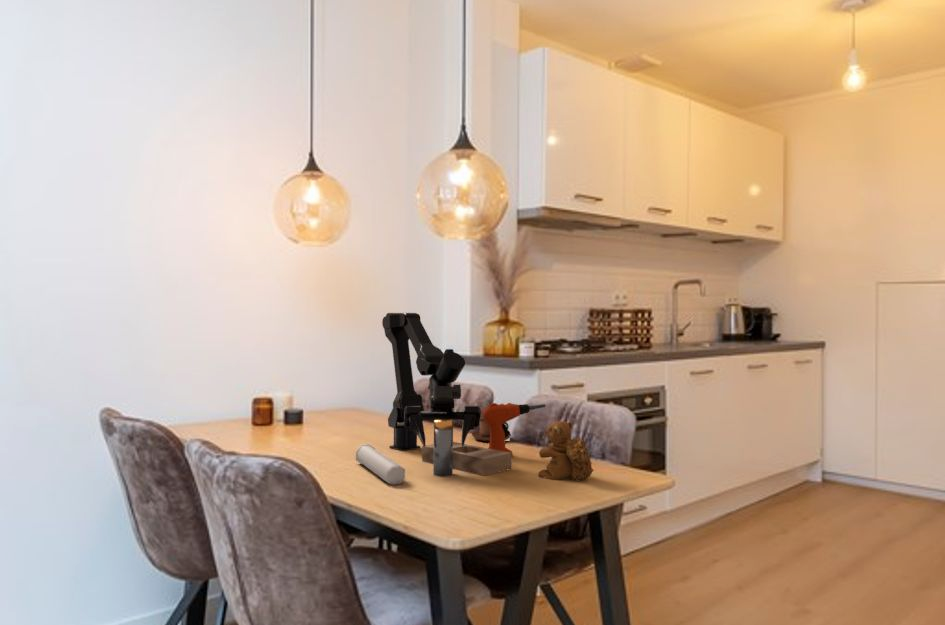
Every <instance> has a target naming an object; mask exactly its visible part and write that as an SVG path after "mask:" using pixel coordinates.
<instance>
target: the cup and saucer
mask: <svg viewBox="0 0 945 625" xmlns="http://www.w3.org/2000/svg"><path fill="white" fill-rule="evenodd" d="M503 424H505V425H506V427H507V429H508V430H509V426H510V425H509V423H508V421H507V422H505V423H503ZM471 437H473V439H475V440H478V441H482V442H487V441H488V442H489V443H490V427H489V425H488V424H487V423H486V422H485V421H484V419H483V418H480V422H479V431H474V432H472V433H471ZM511 437H512V434H511V433H510V434H509V435H508V436H507V437H506V438H505V441H506V440H508V439H510V438H511Z"/></svg>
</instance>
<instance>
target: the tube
mask: <svg viewBox="0 0 945 625" xmlns="http://www.w3.org/2000/svg"><path fill="white" fill-rule="evenodd" d="M355 461H356V462H358V463H359V464H361V465H363V466H365V467H366V468H367V469H369V470H370V471H371V472H373V473H374V474H375V475H377V476H378V477H380V479H382V480H383V481H385V482H387V483H388V484H389V485H391V486H394V485H401V484H402V483H403V481H404V479H405V477H406V469H405V468H404V466H402V465H400V464H399V463H397V462H396V461H394V460H392V459H391V458H389V457H388V456H386V455H385V454H383V453H382V452H380V451H378V450H377V449H376V448H375V447H374V446H372V445H371V444H369V443H367V444H360V446H359V447H358V448H357V449H356V451H355Z"/></svg>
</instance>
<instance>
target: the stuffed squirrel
mask: <svg viewBox="0 0 945 625" xmlns="http://www.w3.org/2000/svg"><path fill="white" fill-rule="evenodd" d="M573 425H574V423H573V422H572V421H568V422H566V421H563V420H557V421H555V422H551V424H549V425H548V426H547V427H546V430H545V431H544V433H543V436H542V438H543V440H546V437H547V439H548V440H549V441H551V442H550V443H548V444H547V447H542V448H541V449H540V450H539V452H538V453H539V457H540V458H542V459H546V458H551V459H550V461H549V463H548V464H547V465H546V466H545V468H546V469H545V468H544V469H541V470H539V471H538V474H537V475H538V477H539V476H541V477H540V478H543V477H546V478H545V479H548V478H550V480H568V478H569V479H570V480H571V479H572V481H576V480H580V481H581V480H583V479H584V480H587V479H588V478H590V477H591V475H592V473H593V472H594V469H593V468H592V464H593V463H592V462H591V457H590V455H589V454H590V452H589V450H588V449H587V447H586V444H585V443H584V439H582V438H578V437H573V438H571V437H572V436H571V429H572V427H573Z"/></svg>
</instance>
